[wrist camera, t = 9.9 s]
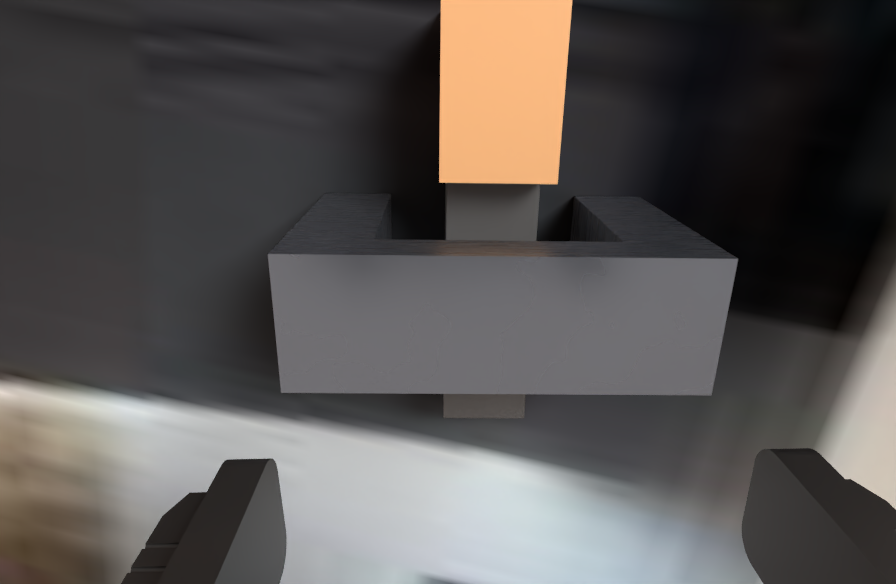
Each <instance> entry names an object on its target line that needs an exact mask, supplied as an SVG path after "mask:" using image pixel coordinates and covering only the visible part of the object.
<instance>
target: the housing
mask: <svg viewBox="0 0 896 584" xmlns="http://www.w3.org/2000/svg"><path fill="white" fill-rule="evenodd" d="M268 261H269V272H270V282H271V293H272V303H273V313H274V324H275V334H276V345H277V355H278V365H279V376H280V386H281V393H396V394H570V395H712V390H713V385H714V380H715V375H716V370H717V365H718V360H719V355H720V349H721V344H722V339H723V334H724V329H725V324H726V319H727V314H728V309H729V304H730V298H731V293H732V288H733V283H734V278H735V273H736V268H737V263H738V258H736V257H735V256H733V255H731V254H730V253H728V252H727V251H725V250H723V249H722V248H720V247H719V246H717V245H715V244H714V243H712V242H711V241H709V240H707V239H706V238H704V237H703V236H701V235H699V234H698V233H696V232H695V231H693V230H691V229H690V228H688V227H687V226H685V225H683V224H682V223H680V222H679V221H677V220H675V219H674V218H672V217H671V216H669V215H667V214H666V213H664V212H663V211H661V210H659V209H658V208H656V207H655V206H653V205H651V204H650V203H648V202H647V201H645V200H643V199H642V198H640V197H615V196H574V203H573V214H572V225H571V236H570V241H487V240H392V217H391V194H366V193H325V194H324V195H323V196H322V197H321V198H320V199H319V200H318V201H317V202H316V203H315V204H314V205H313V206H312V208H311V209H310V210H309V211H308V212H307V213H306V214H305V215H304V216H303V217H302V218H301V219H300V220H299V221H298V222H297V224H296V225H295V226H294V227H293V228H292V229H291V230H290V231H289V232H288V233H287V234H286V235H285V236H284V237H283V238H282V239H281V241H280V242H279V243H278V244H277V245H276V246H275V247H274V248H273V249H272V250H271V251H270V252H269V253H268Z"/></svg>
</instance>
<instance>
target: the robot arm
mask: <svg viewBox="0 0 896 584" xmlns="http://www.w3.org/2000/svg"><path fill="white" fill-rule="evenodd" d="M742 538H743V543H744V548H745V551H746V554H747V556H748V559H749V561H750V563H751V564H752V566H753V568H754V569H755V571H756V572H757V574H758V576H759V577H760V579H761V580H762V582H763V583H764V584H896V510H895V509H894V508H893V507H892V506H891V505H890V504H889V503H888V502H887V501H885V500H884V499H882V498H881V497H879V496H877V495H876V494H874V493H872V492H871V491H869V490H867V489H866V488H864V487H862V486H861V485H859V484H857V483H856V482H854V481H853V480H851V479H846V480H845V479H844V478H843V477H842V476H841V475H840V474H839V473H838V472H837V471H836V470H835V469H834V468H833V467H832V466H831V465H830V464H829V463H828V462H827V461H826V460H825V459H824V458H823V457H822V456H821V455H820V454H819V453H818V452H817V451H815V450H813V449H810V448H803V449H764V450H761V451H760V452H759V453H758V454H757V456H756V459H755V462H754V467H753V472H752V477H751V482H750V487H749V492H748V497H747V501H746V506H745V511H744V516H743V521H742ZM285 556H286V529H285V521H284V514H283V507H282V499H281V492H280V485H279V478H278V471H277V466H276V463H275V461H274V460H273V459H236V460H226V461H225V462H224V463H223V464H222V465H221V467H220V469H219V471H218V473H217V475H216V476H215V478H214V480H213V482H212V484H211V486H210V487H209V489H208V491H207V492H202V493H189V494H188V495H187V496H185V497H184V498H183V499H182V500H181V501H180V502H178V503H177V504H176V505H175V506H174V507H173V508H171V509H170V510H169V511H168V512H167V513H166V514H164V515H163V516H162V518H161V520H160V521H159V523H158V524H157V526H156V528H155V529H154V531H153V533H152V534H151V536H150V537H149V539H148V541H147V542H146V547H145V549H142V550H141V552H140V554H139V555H138V557H137V559H136V560H135V562H134V563H133V565H132V567H131V573H127V575H126V576H125V578H124V580H123V581H122V583H121V584H279V583H280V580H281V576H282V573H283V569H284V563H285Z"/></svg>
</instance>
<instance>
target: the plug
mask: <svg viewBox="0 0 896 584" xmlns="http://www.w3.org/2000/svg"><path fill="white" fill-rule="evenodd" d="M571 10H572V0H441V20H440V123H439V183H445V240H487V241H536V238H537V224H538V210H539V195H540V184H558V172H559V159H560V147H561V134H562V122H563V109H564V97H565V85H566V72H567V60H568V47H569V35H570V22H571ZM525 395H526V394H443V418H524V410H525Z"/></svg>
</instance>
